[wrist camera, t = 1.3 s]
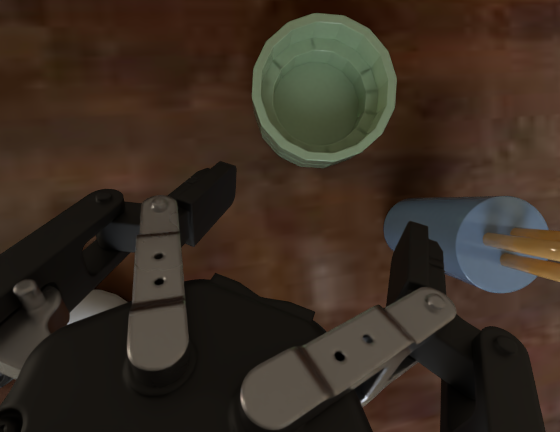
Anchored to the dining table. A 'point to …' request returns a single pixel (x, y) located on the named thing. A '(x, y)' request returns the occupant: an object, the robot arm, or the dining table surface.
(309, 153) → the bowl
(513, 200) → the breadstick jar
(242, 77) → the dining table surface
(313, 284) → the dining table surface
